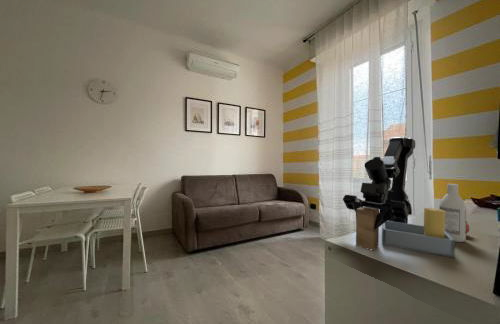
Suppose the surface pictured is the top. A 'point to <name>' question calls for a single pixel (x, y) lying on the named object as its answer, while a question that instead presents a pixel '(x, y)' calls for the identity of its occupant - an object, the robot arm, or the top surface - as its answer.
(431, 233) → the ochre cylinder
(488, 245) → the top surface
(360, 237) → the walnut block
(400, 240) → the tray
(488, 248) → the top surface
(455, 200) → the bath foam
